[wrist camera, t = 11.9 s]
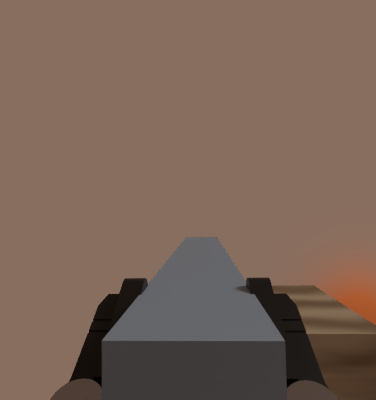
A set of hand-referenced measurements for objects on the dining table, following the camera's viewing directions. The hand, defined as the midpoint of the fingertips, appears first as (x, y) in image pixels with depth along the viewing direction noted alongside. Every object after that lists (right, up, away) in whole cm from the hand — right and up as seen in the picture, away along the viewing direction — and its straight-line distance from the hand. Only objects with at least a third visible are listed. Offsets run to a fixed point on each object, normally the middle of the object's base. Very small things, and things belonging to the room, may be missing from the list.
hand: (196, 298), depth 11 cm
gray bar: (+1, -4, +10) cm, 10 cm away
